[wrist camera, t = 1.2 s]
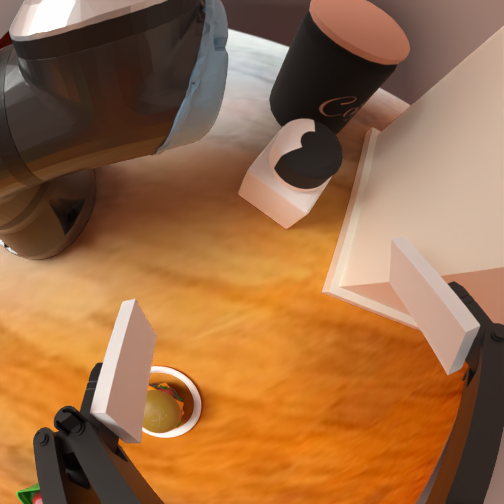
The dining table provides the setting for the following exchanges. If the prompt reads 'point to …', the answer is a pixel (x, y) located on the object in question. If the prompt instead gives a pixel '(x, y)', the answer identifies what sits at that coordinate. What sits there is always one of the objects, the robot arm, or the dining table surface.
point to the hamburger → (168, 407)
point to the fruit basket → (30, 495)
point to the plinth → (432, 193)
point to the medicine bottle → (292, 171)
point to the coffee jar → (336, 62)
